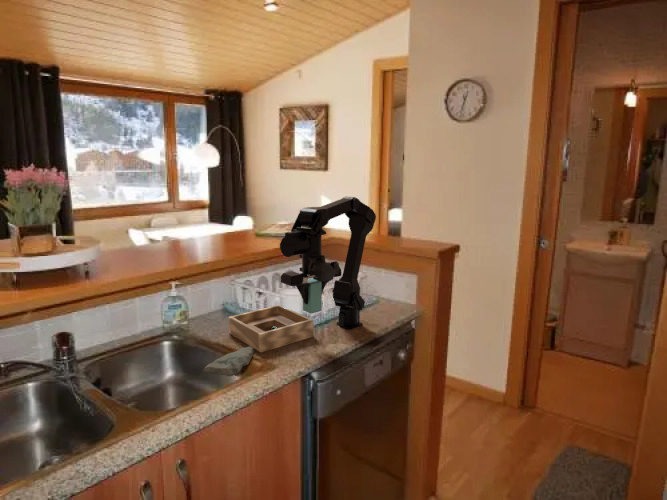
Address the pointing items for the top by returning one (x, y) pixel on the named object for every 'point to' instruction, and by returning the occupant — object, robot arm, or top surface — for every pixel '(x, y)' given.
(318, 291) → the peg
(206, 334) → the top surface
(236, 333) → the box
